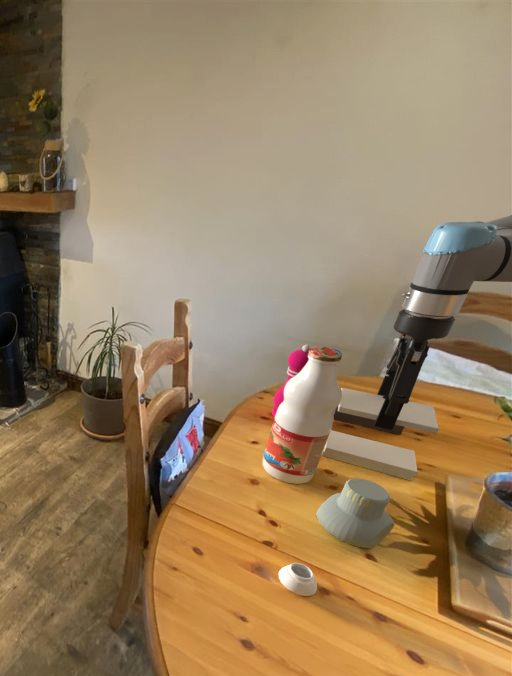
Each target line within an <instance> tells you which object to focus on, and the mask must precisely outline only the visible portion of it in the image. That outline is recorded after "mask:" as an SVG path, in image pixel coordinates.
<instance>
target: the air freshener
mask: <svg viewBox="0 0 512 676" xmlns="http://www.w3.org/2000/svg"><path fill="white" fill-rule="evenodd" d="M390 500H391V495H390V493H389V492H388V491H387V490H386V488H384V487H383V486H382V485H380V484H378V483H376V482H374V481H372V480H369V479H364V478H351V479H348V480H346V481H345V483H344V485H343V488H342V490H341V492H338V493H335V494H332V495H330V496H329V497H328V498H327V499H326V500H325V501H324V502H323V503H322V504H321V505H320V506H319V507H318V508H317V510H316V513H315V516H316V518H317V520H318V522H319V523H320V525H321V526H322V527H323V529H324V530H325V531H327V532H328V533H329V534H330V535H331V536H333V537H334V538H336V539H338V540H339V541H341V542H344V543H346V544H349V545H351V546H354V547H359V548H364V549H373V548H374V547H376V546H378V545H379V544H380V543H381V542H382V541H383V540H385V538H386V537H387V536H389V534H390V533H391V531H392V530H393V528H394V526H395V521H394V520H393V519H392V516H390V515H389V513H388V512H387V511H386V508H387V507H388V504H389V502H390Z"/></svg>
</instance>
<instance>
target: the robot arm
mask: <svg viewBox="0 0 512 676" xmlns="http://www.w3.org/2000/svg"><path fill="white" fill-rule="evenodd" d="M474 282H492V283H493V282H495V283H496V282H497V283H512V215H507V216H504V217H500V218H497V219H493V220H490V221H485V222H484V221H451V222H444V223H441V224H439V225H437V226H436V227H435V228H434V230H433V231H432V233H431V235H430V237H429V238H428V241H427V243H426V244H425V246H424V248H423V249H422V255H421V257H420V261H419V262H418V266H417V268H416V269H415V273H414V276H413V279H412V281H411V283H410V286H409V289H408V291H404V292H402V294H401V297H402V298H404V300H403V303H402V305H401V307H402V310H400V311H399V312H398V313H397V316H396V319H395V321H394V324H393V330H394V331H395V332H397V333H398V334H401V336H400V338H399V339H398V342H397V345H396V347H395V350H394V352H393V354H392V356H391V358H390V360H389V362H388V364H386V371H385V375H384V377H383V379H382V382H381V384H380V387H379V389H378V391H377V393H376V395H381V396H383V399H385V401H384V403H383V405H382V408H381V410H380V412H379V414H378V417H377V419H376V421H375V424H374V426H376V427H380V428H385V429H389V430H392V429H393V427H394V425H395V423H396V420H397V418H398V416H399V414H400V412H401V410H402V407H403V405H404V404H407V403H408V402H409V401H410V398H411V396H412V393H413V390H414V388H415V385H416V383H417V380H418V377H419V376H420V375H419V374H420V373H421V370H422V367H423V365H424V363H425V360H426V359H427V357H428V353H429V350H430V345H428V344H429V340H433V339H435V340H439V339H440V340H441V339H443V338H446V337H447V336H448V335H449V333H450V331H451V329H452V327H453V325H454V323H455V320H456V318H455V316H458V315H459V313H460V311H461V309H462V307H463V305H464V303H465V301H466V298H467V297H468V295H469V292H470V289H471V287H472V285H473V284H474Z"/></svg>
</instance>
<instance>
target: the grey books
mask: <svg viewBox="0 0 512 676" xmlns="http://www.w3.org/2000/svg"><path fill="white" fill-rule="evenodd" d="M338 406H339V405H338ZM333 415H334V421H339V422H342V423H343V422H344V423H348V424H352V425H356V426H361V427H365V428H369V429H374V430H377V431H382V432H386V433H390V434H394V435H399V436H401V435H402V433H403V432H404V429H405V427H404V426H399V425H394V427H393V429H392V430H389V429H385V428H380V427H376V426H374V424H375V421H376V420H373V419H369V418H364V417H360V416H355V415H351V414H347V413H342V412H338V407H337V408H336V409H335V410H334V412H333Z"/></svg>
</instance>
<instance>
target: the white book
mask: <svg viewBox="0 0 512 676" xmlns="http://www.w3.org/2000/svg"><path fill="white" fill-rule="evenodd" d="M341 391H342V399H341V402H340V404H339V406H338V412H342V413H347V414H351V415H355V416H360V417H364V418H369V419H373V420H376V419H377V417H378V414H379V412H380V410H381V408H382V405H383V403H384V401H385V399H383V396H381V395H377V393H376V394H375V393H372V392H371V393H370V392H366V391H360V390H356V389H351V388H345V387H341ZM395 425H399V426H404V428H409V429H413V430H417V431H422V432H426V433H431V434H435V435H437V434H438V432H439V430H440V428H439V423H438V418H437V414H436V410H435V406H434V405H431V404H426V403H421V402H415V401H411V400H409V402H408V403H407V404H404V405H403V407H402V410H401V412H400V414H399V416H398V418H397V420H396V423H395Z"/></svg>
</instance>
